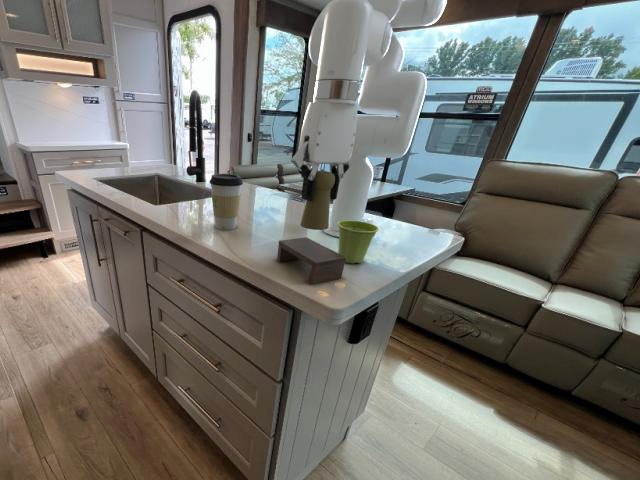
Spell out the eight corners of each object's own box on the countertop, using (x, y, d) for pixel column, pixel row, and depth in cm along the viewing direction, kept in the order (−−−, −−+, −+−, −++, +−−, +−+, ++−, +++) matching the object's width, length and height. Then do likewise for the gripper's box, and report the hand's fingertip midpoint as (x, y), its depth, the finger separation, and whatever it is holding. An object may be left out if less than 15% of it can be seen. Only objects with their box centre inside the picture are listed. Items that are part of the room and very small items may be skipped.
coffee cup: (222, 220, 105) (223, 172, 97) (247, 226, 100) (249, 176, 92) (203, 227, 98) (202, 175, 90) (228, 233, 93) (229, 180, 85)
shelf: (303, 256, 80) (306, 237, 78) (341, 278, 69) (346, 257, 67) (276, 260, 77) (278, 240, 74) (312, 284, 66) (315, 262, 64)
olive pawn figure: (329, 231, 65) (339, 174, 59) (299, 228, 66) (307, 172, 60) (327, 223, 70) (337, 170, 65) (300, 220, 71) (307, 168, 66)
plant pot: (336, 249, 85) (343, 217, 81) (372, 257, 81) (382, 224, 77) (326, 260, 78) (333, 226, 74) (365, 270, 74) (375, 234, 70)
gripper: (356, 98, 62) (338, 193, 71) (283, 91, 56) (273, 197, 65) (386, 97, 57) (362, 200, 66) (309, 89, 50) (294, 206, 59)
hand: (318, 198), depth 65 cm, fingers closed on olive pawn figure, 5 cm apart
